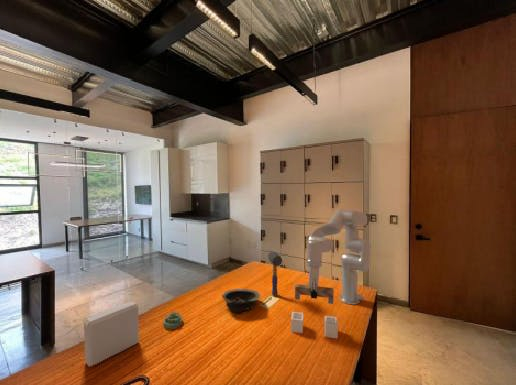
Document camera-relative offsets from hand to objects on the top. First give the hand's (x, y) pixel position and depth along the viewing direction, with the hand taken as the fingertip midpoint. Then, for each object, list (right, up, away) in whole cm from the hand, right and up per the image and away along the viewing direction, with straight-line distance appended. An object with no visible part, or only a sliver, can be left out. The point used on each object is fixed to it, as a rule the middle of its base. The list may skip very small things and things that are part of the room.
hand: (313, 295), depth 127 cm
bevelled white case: (-98, -19, -17) cm, 101 cm away
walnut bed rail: (0, -2, 0) cm, 2 cm away
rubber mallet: (-19, -16, +37) cm, 44 cm away
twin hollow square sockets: (-1, -18, -2) cm, 18 cm away
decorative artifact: (-78, -18, +4) cm, 80 cm away
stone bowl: (-41, -17, +24) cm, 51 cm away
